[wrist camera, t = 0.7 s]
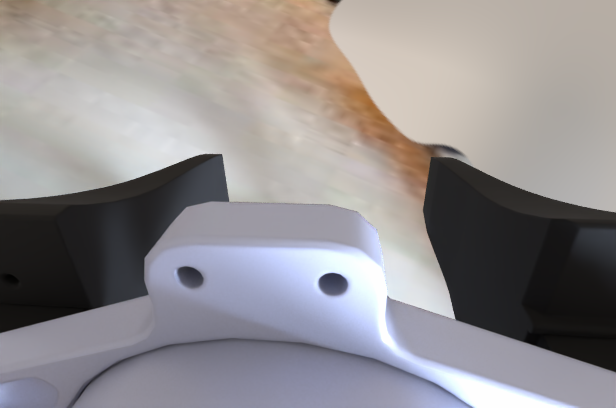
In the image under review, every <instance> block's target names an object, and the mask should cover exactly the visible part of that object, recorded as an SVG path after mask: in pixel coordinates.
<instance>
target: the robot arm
mask: <svg viewBox="0 0 616 408" xmlns="http://www.w3.org/2000/svg"><path fill="white" fill-rule="evenodd" d="M423 213H424V218H425V224H426V228H427V233H428V236H429V239H430V241H431V244H432V247H433V249H434V252H435V255H436V257H437V260H438V263H439V265H440V268H441V270H442V273H443V276H444V278H445V281H446V284H447V287H448V290H449V294H450V298H451V302H452V306H453V311H454V315H455V319H456V320H454V319H451V318H448V317H445V316H442V315H439V314H436V313H433V312H430V311H427V310H424V309H421V308H418V307H414V306H411V305H408V304H405V303H402V302H399V301H396V300H393V299H390V298H389V297H388V296H387V286H386V279H385V271H384V264H383V256H382V250H381V246H380V242H379V237H378V233H377V229H376V228H374V227H373V226H372V225H371V224H370V223H369V222H368V221H367V220H366V219H365V218H364V217H362V216H361V215H360V214H359V213H358V212H356V211H352V210H348V209H345V208H341V207H337V206H333V205H325V204H287V203H250V202H229V197H228V191H227V184H226V177H225V170H224V164H223V157H222V154H203V155H198V156H195V157H192V158H189V159H187V160H184V161H182V162H179V163H177V164H174V165H172V166H169V167H167V168H164V169H161V170H159V171H156V172H153V173H150V174H148V175H145V176H142V177H139V178H136V179H133V180H130V181H127V182H123V183H119V184H116V185H112V186H108V187H104V188H99V189H93V190H88V191H83V192H78V193H72V194H65V195H58V196H50V197H41V198H30V199H15V200H0V408H616V213H615V212H608V211H602V210H597V209H591V208H587V207H582V206H578V205H573V204H569V203H565V202H561V201H557V200H553V199H550V198H546V197H543V196H540V195H537V194H534V193H531V192H528V191H525V190H522V189H520V188H517V187H515V186H512V185H510V184H508V183H505V182H503V181H500V180H498V179H496V178H494V177H492V176H490V175H488V174H486V173H484V172H482V171H480V170H478V169H476V168H474V167H472V166H470V165H468V164H466V163H464V162H461V161H459V160H457V159H454V158H448V157H431V161H430V168H429V174H428V181H427V188H426V194H425V201H424V207H423Z"/></svg>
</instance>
